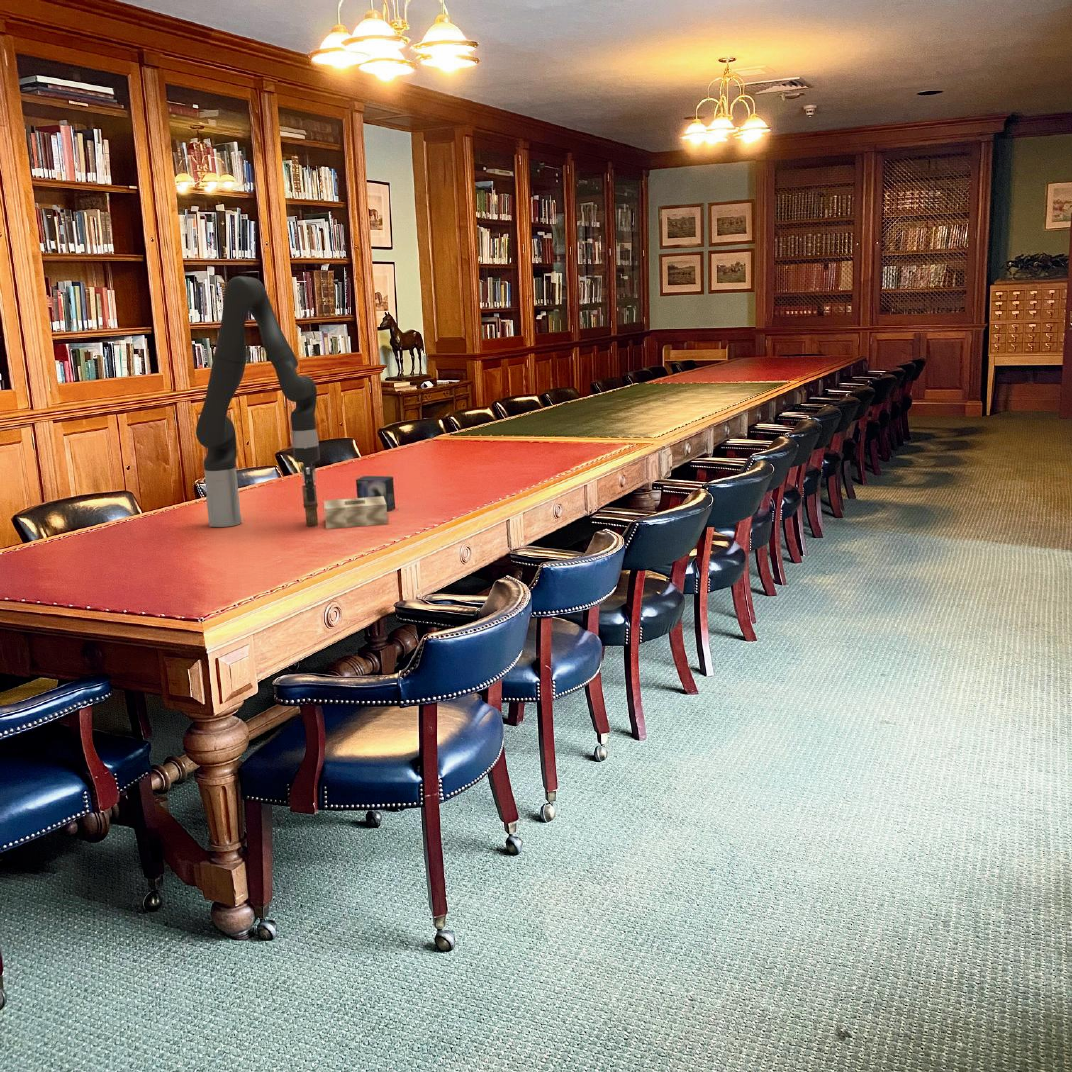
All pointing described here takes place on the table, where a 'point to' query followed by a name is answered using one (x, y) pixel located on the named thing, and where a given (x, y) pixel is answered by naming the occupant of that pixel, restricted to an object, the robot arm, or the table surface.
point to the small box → (377, 489)
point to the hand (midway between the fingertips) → (311, 499)
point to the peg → (310, 508)
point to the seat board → (355, 512)
